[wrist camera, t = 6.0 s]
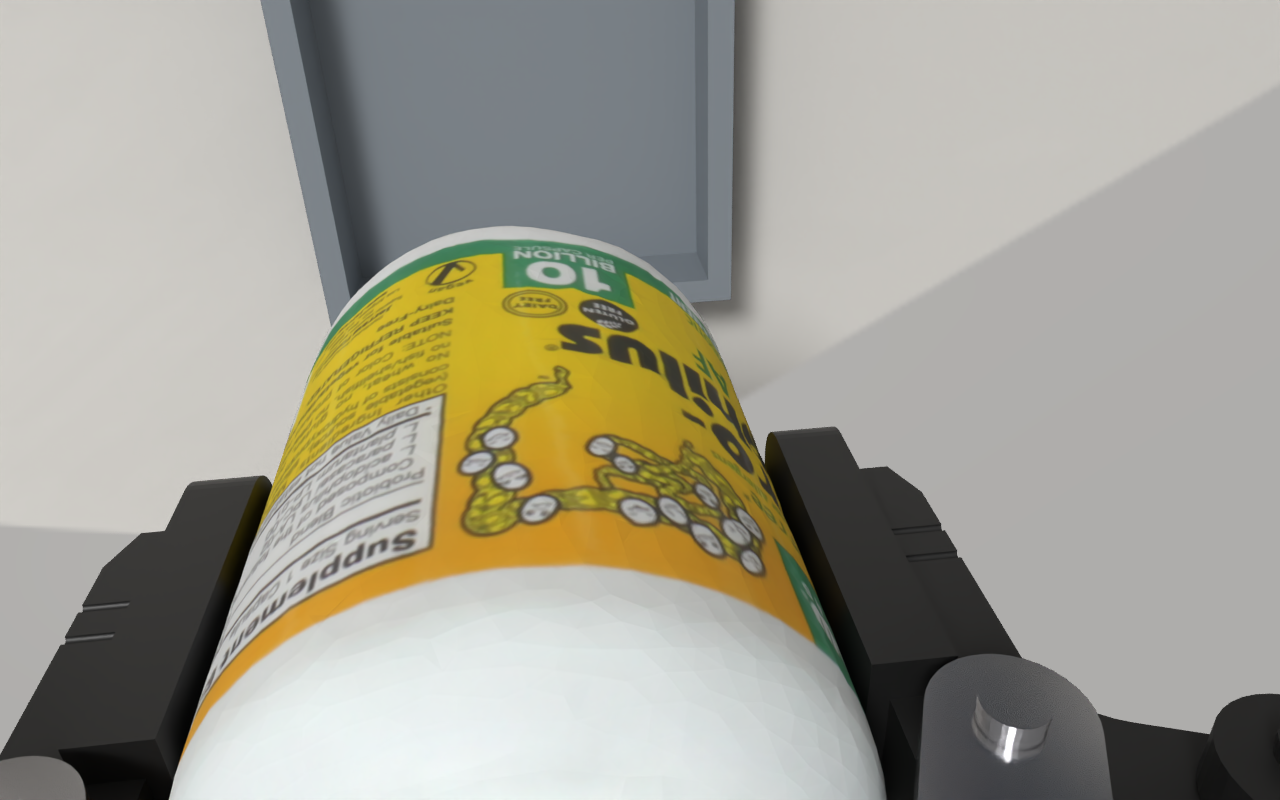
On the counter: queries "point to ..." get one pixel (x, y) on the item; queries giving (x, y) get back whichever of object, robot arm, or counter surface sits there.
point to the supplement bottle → (524, 559)
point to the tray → (511, 127)
